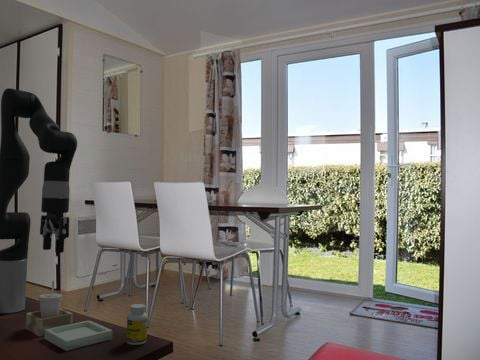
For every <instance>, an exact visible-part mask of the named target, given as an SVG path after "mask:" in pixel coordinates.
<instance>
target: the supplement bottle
mask: <svg viewBox="0 0 480 360" xmlns="http://www.w3.org/2000/svg"><path fill="white" fill-rule="evenodd" d="M129 310H130V313H129V314H128V315H127V317H126V344H128V345H130V346H131V345H132V346H139V345H143V344H146V342H147V340H148V338H147V337H148V319H149V317H148V316H149V315H148V314H147V313H146V305H145V304H144V303H143V304H142V303H134V304H131V305H130V308H129Z"/></svg>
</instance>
